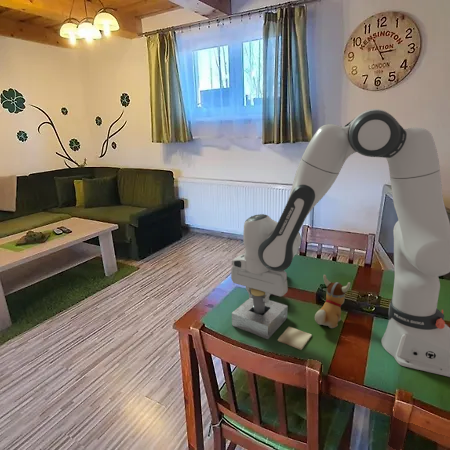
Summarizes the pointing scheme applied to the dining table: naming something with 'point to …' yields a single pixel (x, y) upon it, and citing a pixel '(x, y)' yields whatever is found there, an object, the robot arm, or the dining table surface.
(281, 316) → the housing
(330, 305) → the toy
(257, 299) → the plug
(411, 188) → the robot arm
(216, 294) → the dining table surface
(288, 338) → the coaster
